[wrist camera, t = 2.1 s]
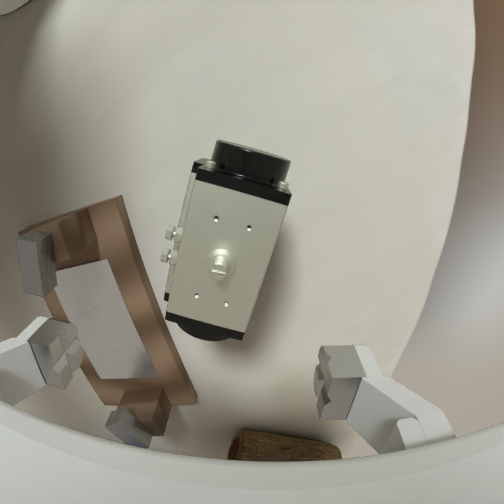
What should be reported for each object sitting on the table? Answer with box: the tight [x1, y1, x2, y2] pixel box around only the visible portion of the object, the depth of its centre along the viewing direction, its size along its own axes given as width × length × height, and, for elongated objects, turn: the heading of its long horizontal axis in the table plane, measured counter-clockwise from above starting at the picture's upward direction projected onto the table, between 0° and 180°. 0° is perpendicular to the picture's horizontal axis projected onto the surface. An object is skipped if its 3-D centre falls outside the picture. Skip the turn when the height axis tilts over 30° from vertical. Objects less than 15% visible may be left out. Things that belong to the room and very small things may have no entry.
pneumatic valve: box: [161, 140, 292, 341], centre depth 21 cm, size 6×12×12 cm, turn 164°
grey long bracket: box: [16, 230, 160, 448], centre depth 26 cm, size 24×8×7 cm, turn 12°
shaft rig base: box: [18, 195, 197, 436], centre depth 27 cm, size 24×13×6 cm, turn 12°
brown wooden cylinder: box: [228, 430, 342, 462], centre depth 34 cm, size 15×7×7 cm, turn 72°
